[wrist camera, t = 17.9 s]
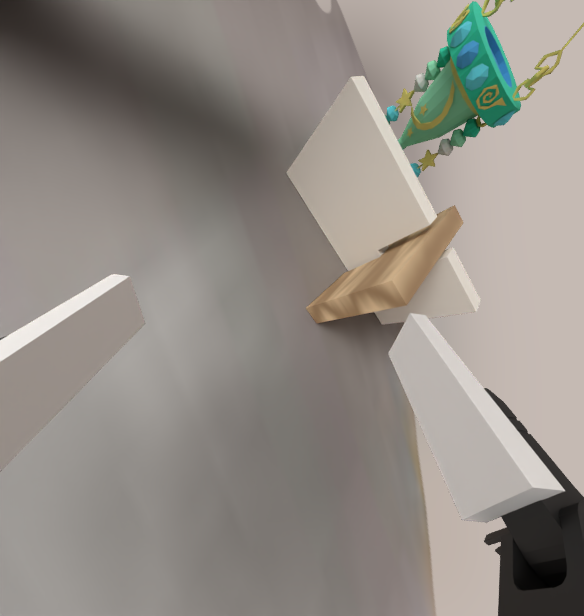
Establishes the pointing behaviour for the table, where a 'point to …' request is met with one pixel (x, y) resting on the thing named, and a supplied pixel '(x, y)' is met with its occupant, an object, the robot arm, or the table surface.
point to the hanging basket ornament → (464, 86)
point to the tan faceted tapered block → (388, 273)
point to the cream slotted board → (374, 200)
